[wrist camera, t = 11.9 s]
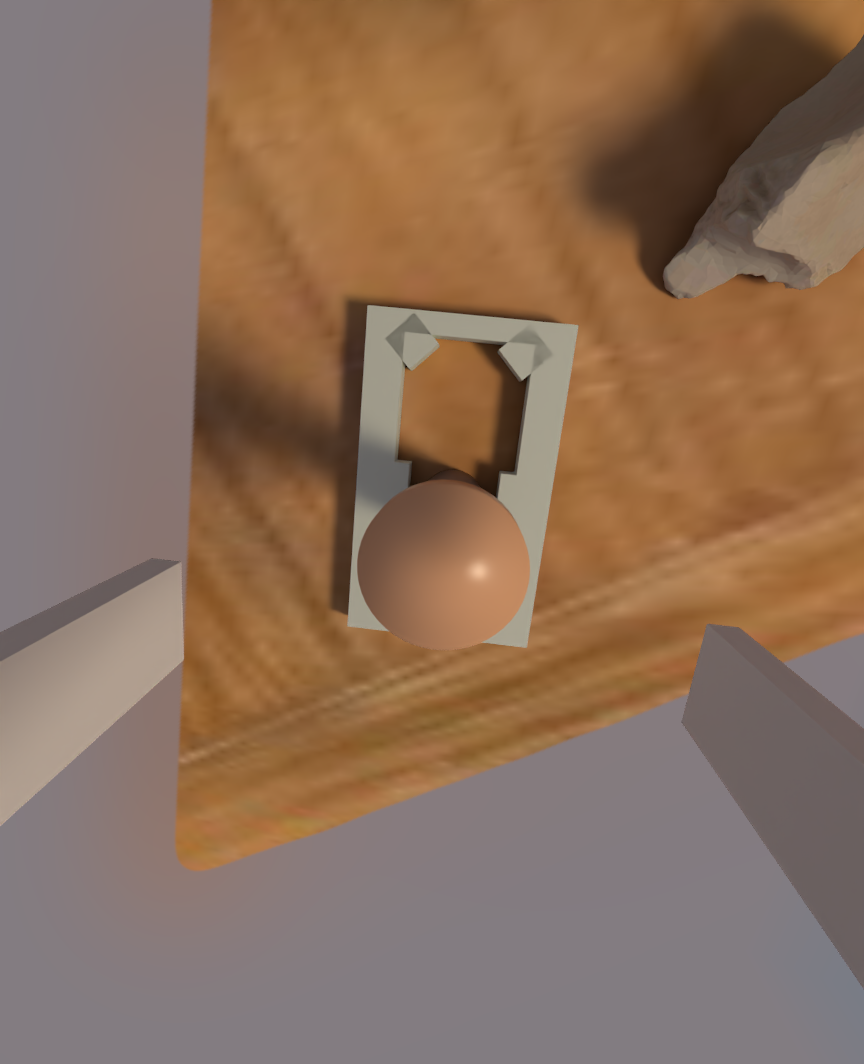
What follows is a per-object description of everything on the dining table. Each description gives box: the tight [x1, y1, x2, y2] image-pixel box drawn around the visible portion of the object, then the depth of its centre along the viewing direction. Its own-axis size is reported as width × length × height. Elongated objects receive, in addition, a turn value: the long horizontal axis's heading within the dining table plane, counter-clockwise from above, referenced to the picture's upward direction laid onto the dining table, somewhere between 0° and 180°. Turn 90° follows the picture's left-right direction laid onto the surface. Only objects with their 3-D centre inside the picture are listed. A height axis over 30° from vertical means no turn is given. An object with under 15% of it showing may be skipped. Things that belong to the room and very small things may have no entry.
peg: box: [357, 470, 530, 650], centre depth 26 cm, size 6×6×14 cm
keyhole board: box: [348, 305, 578, 648], centre depth 32 cm, size 20×12×2 cm, turn 174°
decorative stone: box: [663, 35, 864, 299], centre depth 24 cm, size 8×14×8 cm, turn 133°
